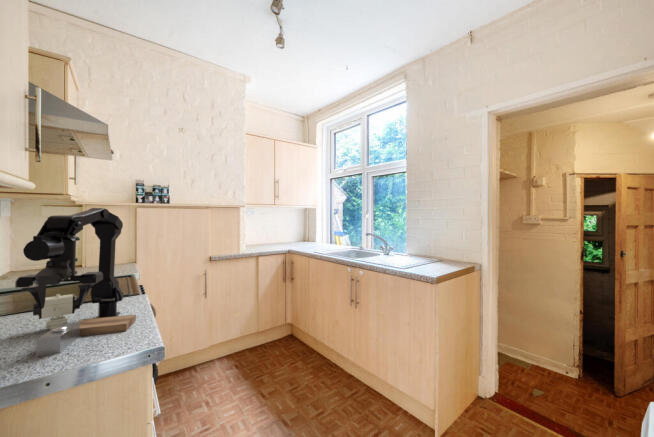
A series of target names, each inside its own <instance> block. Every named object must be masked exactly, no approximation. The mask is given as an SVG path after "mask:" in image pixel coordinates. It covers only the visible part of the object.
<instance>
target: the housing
mask: <svg viewBox="0 0 654 437" xmlns="http://www.w3.org/2000/svg"><path fill="white" fill-rule="evenodd" d="M79 332H80V323H79V322H77V323H67V324H64V325H59V326H57V327H55V328H53V329H52V330H51V329H50V330H49V331H47V332H45V333H44V334H42V335H41V336H39V337H38V338H36V352H35V356H36V357H38V356H44V355H45V356H46V355H54V354H60V353H62V352H63V351H65V350H66V349H67V348H68V347H70V346H71V345H72V344H74V343H75V342H76V341H77V340H78V339H79V338H80V336H79Z"/></svg>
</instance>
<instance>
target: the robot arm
mask: <svg viewBox="0 0 654 437" xmlns="http://www.w3.org/2000/svg"><path fill="white" fill-rule="evenodd" d="M88 225H91V226H92V227H93V228H94V234H95V235H96V237H97V238H98V240H99V255H98V256H99V257H98V271H87V272H84V273H82V274H78V270H76V263H77V262H78V258H77V257H76V256H77V255H76V250H77V249H76V248H77V242H78V241H80V240H81V239H80V237H79V236H77V234H78V233H80V232H81V231H83V230H84V226H88ZM123 226H124V223H123V221H122V220H121V218H120V217H119V216H117V214H113V213H111V212H110V211H109V210H108V209H107V208H105V207H92V208H89V209H87V210H84V211H80V212H77V213H74V214H70V215H69V214H67V215H64V214H61V215H50V216H48V217H47V219H46V220H45V221H44V222H43V224H42V227H41V228H40V230H39V231H38V233H37V234H36V235H33V238H32V240H30V241H29V242H27V243H26V244H25V246H24V247H23V255H24V257H26V259H27V260H30V261H35V262H38V261H44V260H47V261H46V263H45V266H44V267H43V268H42V269H41V270H40V271H38V272H37V273H34V274H26V275H23V276H20V277H18V278H17V279H16V280H15V284H14V287H15V288H16V289H18V288H21V291H27V292H29V293H30V294H31V296H32V297H33V298H34V300H35V303H37V304H38V306H39V308H40V309H43V308H44V305H45V298H46V292H47V286H49V285H50V286H57V285H59V284H60V283H66V282H67V283H68V282H79V283H81V284H79V285H77V286H78V289H79V291H78V292H79V294H78V297H79V301H78V302H79V306H80V307H81V306H83V304H84V302H85V299H86V298H87V296H88V294H90V295H89V296H90V300H91V303H92V304H98V312H97V313H98V315H97V316H96V317H95V318H104V317H115V316H119V315H120V314H121V312H120V311H118V310H117V308H118V303H119V302H122V301H123V299H124V292H123V291H122V289H121V288H120V282H119V280H118V279H117V278H116V277H115V265H116V263H115V261H116V242H117V241H116V240H117V239H118V238H119V236H120V235H121V234H122V229H123Z"/></svg>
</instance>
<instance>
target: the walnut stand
mask: <svg viewBox="0 0 654 437" xmlns="http://www.w3.org/2000/svg"><path fill="white" fill-rule="evenodd" d="M136 319H137V316H136V314H130V315H117V316H115V317H104V318H96V317H95V318H84V319H82V320H81V321H79V322H78V323H80V332H79V337H83V336H91V335H92V336H94V335H101V334H109V333H119V332H127V331H128V330H129V329H130V328H131V326H132V325H134V323H136Z"/></svg>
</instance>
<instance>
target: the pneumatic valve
mask: <svg viewBox="0 0 654 437" xmlns="http://www.w3.org/2000/svg"><path fill="white" fill-rule="evenodd" d="M78 301H79V296H76V294H75V293H72V294H64V295H61V294H60V293H56V295H54V296H47V297H46V296H45V305H44V308H43V309H40V308H39V306H38V304H37V302H34V303H33V306H32V316H33V317H35V316H37V317H38V320H40V319H41V320H42V319H48V318H49V320H47V321H46V325H45V326H46V329H49V331H50V330H52V329H53V328H55V327H57V326H59V325H64V324H68V317H66V315H73V314H75V311H77V310H80V309H81V306H79V302H78Z"/></svg>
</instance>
